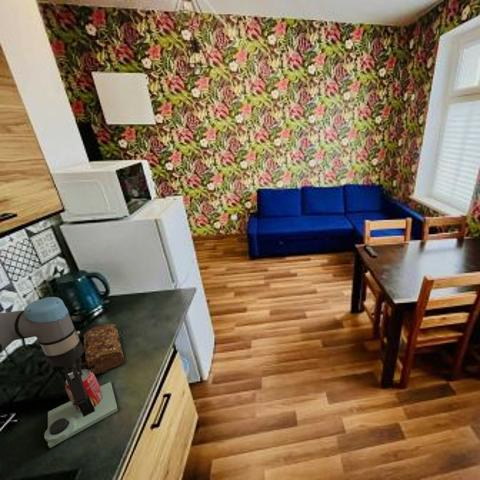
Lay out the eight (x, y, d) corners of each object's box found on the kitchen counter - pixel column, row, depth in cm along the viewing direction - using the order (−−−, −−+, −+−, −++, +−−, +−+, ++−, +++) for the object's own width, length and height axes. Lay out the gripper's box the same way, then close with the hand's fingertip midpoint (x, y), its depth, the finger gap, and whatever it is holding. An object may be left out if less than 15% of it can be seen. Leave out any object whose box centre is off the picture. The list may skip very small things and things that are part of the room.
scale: (48, 451, 75) (44, 444, 73) (48, 415, 84) (44, 409, 83) (118, 412, 85) (115, 406, 84) (111, 384, 94) (109, 378, 93)
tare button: (51, 437, 75) (49, 433, 75) (51, 427, 78) (49, 423, 77) (68, 428, 78) (66, 424, 77) (68, 419, 80) (66, 415, 79)
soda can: (70, 409, 84) (56, 382, 79) (94, 390, 90) (83, 364, 86) (85, 417, 82) (72, 390, 77) (109, 397, 88) (98, 371, 83)
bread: (90, 348, 109) (81, 329, 105) (121, 336, 115) (114, 318, 112) (91, 378, 96) (82, 358, 92) (127, 363, 102) (119, 343, 98)
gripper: (84, 366, 71) (107, 418, 79) (77, 320, 87) (97, 367, 96) (45, 382, 66) (74, 436, 74) (45, 330, 83) (69, 379, 91)
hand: (87, 398), depth 85 cm, fingers open, 13 cm apart
